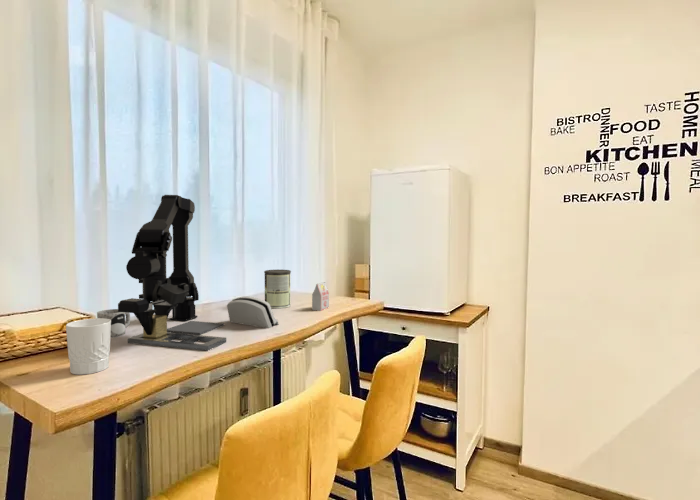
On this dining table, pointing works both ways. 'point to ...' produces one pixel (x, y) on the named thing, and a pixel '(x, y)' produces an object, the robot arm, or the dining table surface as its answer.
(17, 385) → the dining table surface
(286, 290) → the coffee can
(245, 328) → the dining table surface
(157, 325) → the mustard yellow block
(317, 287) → the milk carton
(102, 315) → the mug
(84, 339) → the white cup
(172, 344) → the grey slotted frame
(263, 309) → the grey rounded two-tone device
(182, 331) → the rubber pad
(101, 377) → the dining table surface
